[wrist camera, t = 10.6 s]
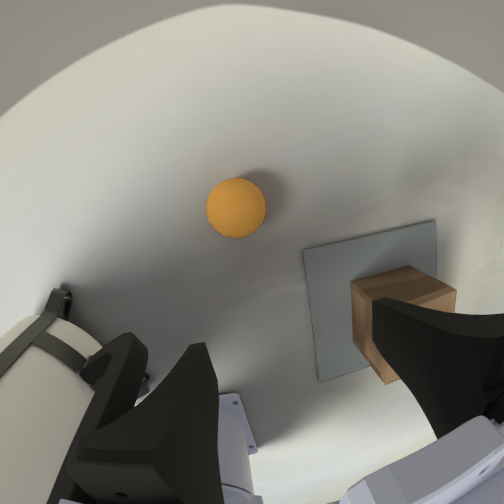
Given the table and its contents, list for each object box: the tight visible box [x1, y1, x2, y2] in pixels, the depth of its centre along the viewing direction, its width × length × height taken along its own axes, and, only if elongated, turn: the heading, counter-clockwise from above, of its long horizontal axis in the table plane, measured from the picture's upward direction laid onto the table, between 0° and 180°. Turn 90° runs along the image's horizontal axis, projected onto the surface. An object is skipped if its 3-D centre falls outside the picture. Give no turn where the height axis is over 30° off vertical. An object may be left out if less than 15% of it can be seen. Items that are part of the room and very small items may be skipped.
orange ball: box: [206, 178, 266, 238], centre depth 17 cm, size 4×4×4 cm
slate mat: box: [302, 221, 436, 383], centre depth 22 cm, size 12×12×1 cm
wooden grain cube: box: [350, 265, 457, 385], centre depth 19 cm, size 6×6×6 cm
